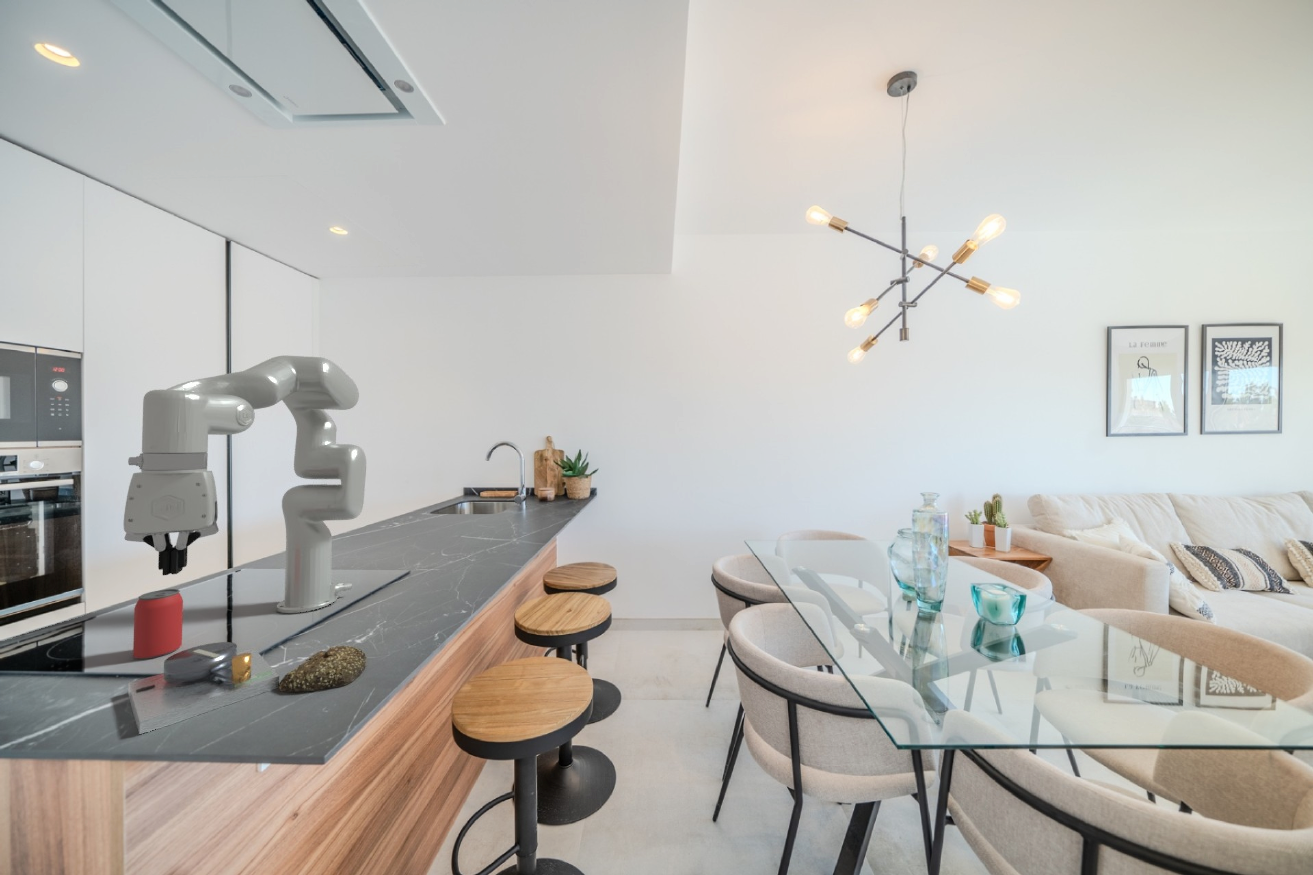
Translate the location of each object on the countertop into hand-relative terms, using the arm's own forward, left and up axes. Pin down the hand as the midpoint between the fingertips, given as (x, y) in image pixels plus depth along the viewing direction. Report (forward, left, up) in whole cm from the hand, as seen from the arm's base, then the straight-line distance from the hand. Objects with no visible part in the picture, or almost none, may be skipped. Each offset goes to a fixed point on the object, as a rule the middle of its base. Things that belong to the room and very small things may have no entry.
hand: (172, 572), depth 74 cm
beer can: (-1, -25, -21) cm, 33 cm away
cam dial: (-5, +2, -18) cm, 19 cm away
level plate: (-4, +2, -21) cm, 22 cm away
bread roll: (-19, +11, -22) cm, 31 cm away
